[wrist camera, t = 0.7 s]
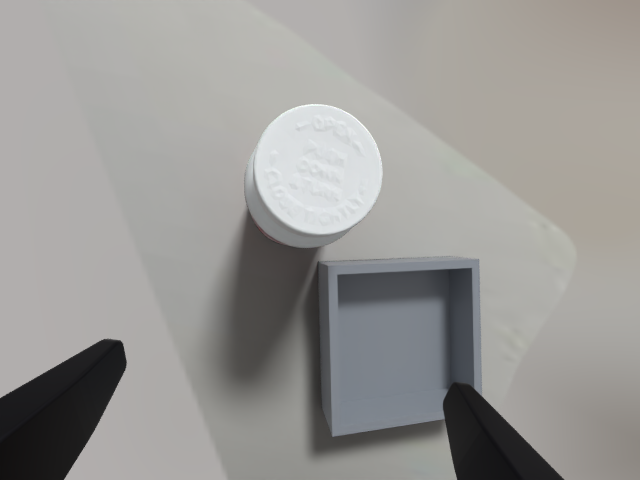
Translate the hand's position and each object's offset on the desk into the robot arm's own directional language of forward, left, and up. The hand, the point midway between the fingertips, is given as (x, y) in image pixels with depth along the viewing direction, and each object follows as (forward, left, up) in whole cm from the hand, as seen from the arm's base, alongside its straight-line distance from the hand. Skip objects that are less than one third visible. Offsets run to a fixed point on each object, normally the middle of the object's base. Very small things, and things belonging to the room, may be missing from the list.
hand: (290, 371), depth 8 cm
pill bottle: (+6, -2, -15) cm, 16 cm away
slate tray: (-4, -9, -14) cm, 18 cm away
